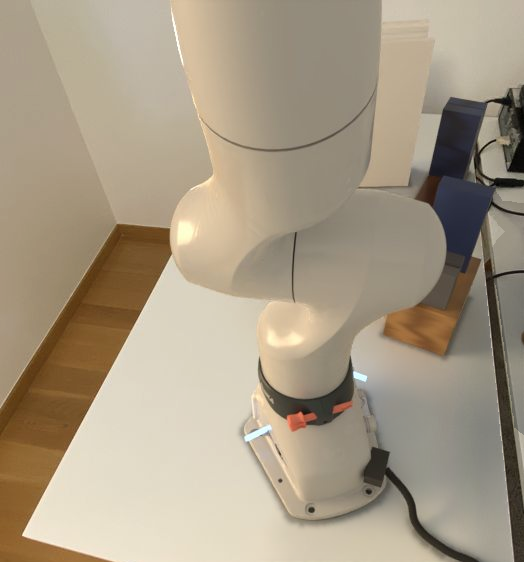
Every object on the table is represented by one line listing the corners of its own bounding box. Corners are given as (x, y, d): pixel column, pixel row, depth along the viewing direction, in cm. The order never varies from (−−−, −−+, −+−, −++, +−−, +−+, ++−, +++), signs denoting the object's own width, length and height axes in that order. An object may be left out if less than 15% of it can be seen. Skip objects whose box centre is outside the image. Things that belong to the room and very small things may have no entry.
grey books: (452, 293, 74) (465, 256, 68) (444, 311, 73) (457, 274, 66) (413, 281, 76) (422, 244, 70) (404, 298, 75) (413, 261, 68)
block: (241, 189, 108) (223, 51, 85) (245, 167, 112) (228, 30, 90) (407, 185, 104) (434, 40, 82) (404, 162, 109) (428, 19, 86)
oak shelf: (467, 297, 85) (482, 258, 78) (443, 355, 79) (457, 319, 71) (410, 280, 89) (419, 241, 81) (383, 334, 82) (390, 297, 75)
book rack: (468, 171, 106) (489, 101, 93) (443, 223, 97) (462, 153, 85) (435, 164, 108) (451, 94, 96) (407, 213, 99) (421, 144, 87)
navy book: (469, 263, 78) (496, 187, 66) (464, 273, 77) (491, 197, 65) (424, 251, 80) (443, 175, 69) (420, 260, 79) (438, 185, 68)
